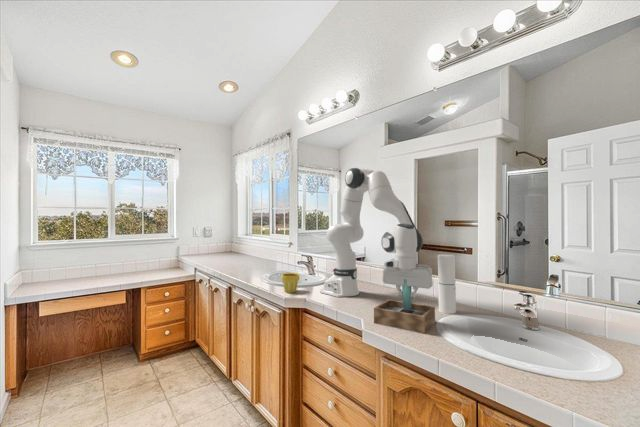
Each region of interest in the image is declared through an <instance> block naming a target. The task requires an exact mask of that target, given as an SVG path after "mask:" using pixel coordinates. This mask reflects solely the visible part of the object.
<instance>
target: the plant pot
mask: <svg viewBox="0 0 640 427" xmlns="http://www.w3.org/2000/svg"><path fill="white" fill-rule="evenodd" d="M281 281H282V284H283V289H284V292H285V293H289V294H290V293H291V294H292V293H296V292H297V289H298V284H299V281H300V274H299V273H295V272H287V273H282V274H281Z"/></svg>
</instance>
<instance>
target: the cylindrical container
mask: <svg viewBox="0 0 640 427" xmlns="http://www.w3.org/2000/svg"><path fill="white" fill-rule="evenodd" d="M437 284H438V285H437V286H438V287H437V289H438V311H439V313H443V314H447V315H454V314H456V313H457V298H456V296H457V295H456V294H457V291H456V290H457V289H456V286H457V285H456V255H454V254H438V255H437Z"/></svg>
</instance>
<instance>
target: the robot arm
mask: <svg viewBox="0 0 640 427" xmlns="http://www.w3.org/2000/svg"><path fill="white" fill-rule="evenodd" d="M344 181H345V185H346V186H345V188H344V191H343V195H342V200H341V204H340V210H339V212H340V214H341V216H342V218H343V223H337V224H334V225H331V226H329V227H328V229H327V231H326V239H327V240H328V242H329V243H330V244H331V245H332V246H333V249H334V253H335V263H336V265H335V266H336V267H335V268H334V269H332V270H331V271H332V272H333V274H332V275H331V276H330V277H329V278H327V279H326V280H325V281H324V285H323V288H321V289H320V290H319V293H320V294H324V295H328V296H332V297H337V298H341V297H354V296H358V295H360V291H359V288H358V280H357V279H358V269H357V262H356V261H357V257H356V253H355V252H354V251H353V249H352V246H351V243H352V244H354V243H356V242H358V241H360V240H362V239H363V237H364V232H365V231H364V228H363V227H362V225H361V217H360V216H361V210H362V205H363V200H364V195H365V193H367V192H368V195H369V200H370V202H371V204H372V205H373V207H374V208H376V209H377V210H379V211H382V212H385V213H387V214H390V215H393V216H394V217H395V218H396V219H397V220H398V223H399V224H396V225H395V228H393V229H392V230H390V231H386V232H384V234H383V235H382V237H381V247H382V249H383V251H385V252H386V253H389V254H395V255H394V258H392V259H389V260H387V261H384V262H383V265H384V268H383V269H382V282H383V283H384V284H387V285H393V286H394V285H395V288H396V290H397V292H398V296H399V297H402V289H401V288H402V286H403V285H404V279H406V280H407V286H410V287H411V288H412V290H413V292H411V298H413V299H414V298H416V293H417V291H418V290H419V288H420V289H428V290H429V289H431V288H432V287H433V284H434V283H433V282H434V281H433V277H432V276H433V268H432V267H431V266H430V265H429V264H421V263H419V262H418V252H419V251H420V250H421V249H422V247H423V245H424V239H423V237H422V234H421V233H420V232H419V230H418V229H417V227H416V225H415V223H414V221H413V219H412V218H411V215H410V213H409V212H408V209H407V208H406V205H405V204H404V202H403V201H401V200H400V199H399V198H398V197H397V196H396V194H395V192H394V190H393V187H392V185H391V182H390V180H389V178H388V177H387V175H386V173H385V172H384V171H382V170H372V169H368V168H367V169H365V168H358V167H353V168H349V169H348V170H347V172H346V173H345V177H344Z"/></svg>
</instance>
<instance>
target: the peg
mask: <svg viewBox="0 0 640 427" xmlns="http://www.w3.org/2000/svg"><path fill="white" fill-rule="evenodd" d="M401 288H402V289H401V291H402V296H401V297H402V302H403V308H404V309H412V303H413V302H412V298H411V293H412V287H410V286H407V280H406V279H404V285H403V286H401Z"/></svg>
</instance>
